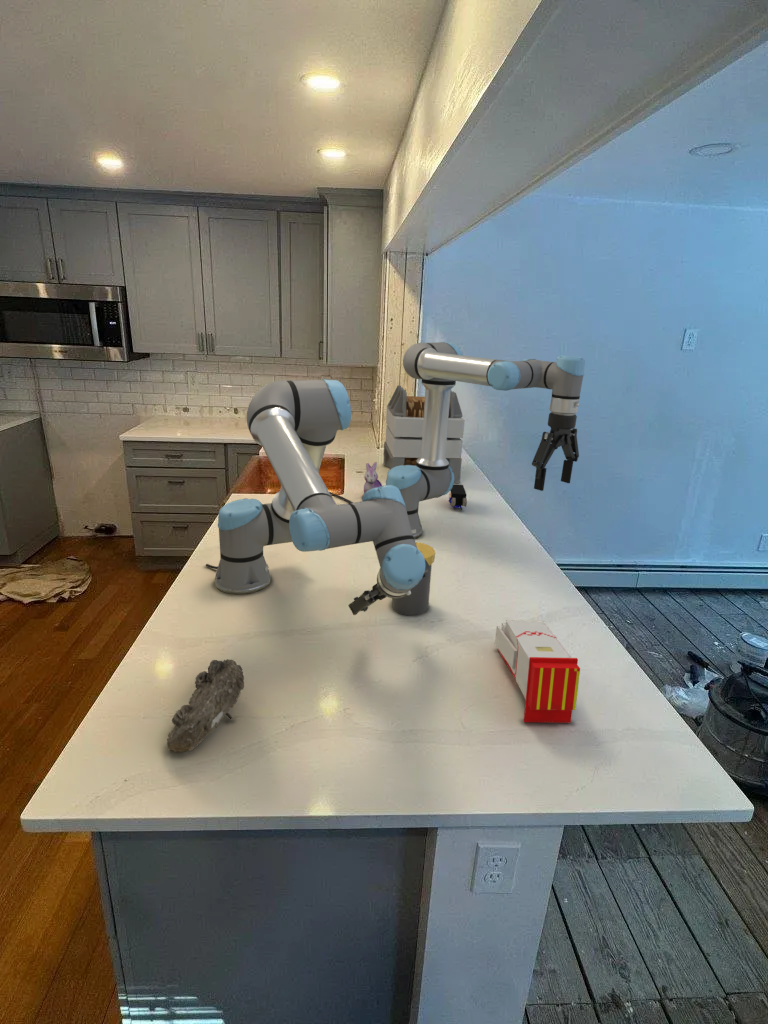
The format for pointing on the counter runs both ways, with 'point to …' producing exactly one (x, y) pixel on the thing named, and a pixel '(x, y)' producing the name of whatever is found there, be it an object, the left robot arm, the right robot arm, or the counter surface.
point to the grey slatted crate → (419, 431)
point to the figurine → (371, 477)
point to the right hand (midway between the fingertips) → (552, 485)
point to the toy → (540, 670)
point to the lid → (426, 552)
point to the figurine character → (457, 496)
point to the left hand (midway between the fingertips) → (387, 591)
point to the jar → (415, 598)
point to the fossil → (206, 705)
